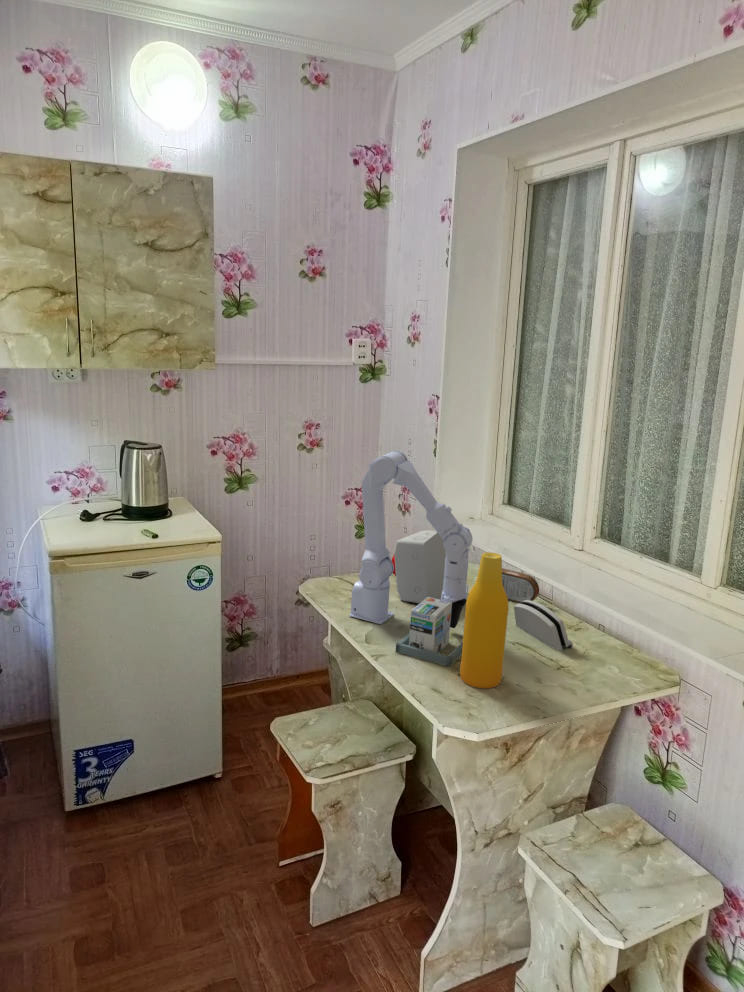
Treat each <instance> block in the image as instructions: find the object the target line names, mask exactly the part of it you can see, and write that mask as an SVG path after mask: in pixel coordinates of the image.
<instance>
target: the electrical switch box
mask: <svg viewBox="0 0 744 992" xmlns="http://www.w3.org/2000/svg"><path fill="white" fill-rule="evenodd" d="M443 542H444V540H443V539H442V538H441V537H440V535H439V534H438V533H437V531H436V530H428V529H427V530H420V531H418V532H415V533H413V534H411V535H408V536H405V537H403V538H400V539H398V540H396V543H395V547H394V553H393V556H392V557H391V561H392V563H393V566H394V571H393V573H392V574H393V575H394V576H395V579H396V581H395V582H396V591H397V593H398V595H399V599H400V601H404V602H407V603H416V604H420V603H421V602H422V601H423V600H425V599H426V598H427V597H431V598H434V599H439V600H440V599H441V595H442V591H443V583H444V570H445V558H446V550H445V549H444V546H443Z"/></svg>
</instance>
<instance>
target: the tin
mask: <svg viewBox="0 0 744 992" xmlns="http://www.w3.org/2000/svg"><path fill="white" fill-rule="evenodd" d="M502 584H503V587H504V590H505V592H506V595H507V599H508V601H511V602H515V603H517V604H520V603H521V601H524V600H530V601H534V600H536V599H537V598H538V596H539V593H540V586H539V583H538V580H536V579H535V577H534V576H532V575H530V574H527V573H523V572H518V571H515V570H511V569H507V568H503V567H502Z"/></svg>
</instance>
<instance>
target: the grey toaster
mask: <svg viewBox="0 0 744 992" xmlns="http://www.w3.org/2000/svg"><path fill="white" fill-rule="evenodd" d="M513 609H514V610H513V611H514V612H513V613H514V619H515V626H516V627H517V628H519V629H520V630H522V631H524V632H525V633H527V634H529V635H530V636H532V637H534V638H535V639H537V640H539V641H540V642H541V643H544V644H545V645H548V646H549V647H550V648H551V649H554V650H556V651H557V652H562V651H563V648H564V647H565V648H568V647H569V648H571V649H573V648H574V644H573V641H572V640H570V639H568V638H569V637H568V635H567V634H568V633H567V630H566V626H565V624H564V623H565V622H564V621H563V620H562V618H560V617H559V616H558V614H556V613H555V612H553V611H552V610H550V608H548V607H547V606H545V605H543V604H541V603H539V602H537V601H534V600H533V601H530V600H524V601H521V603H516V604H515V606H513Z"/></svg>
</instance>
